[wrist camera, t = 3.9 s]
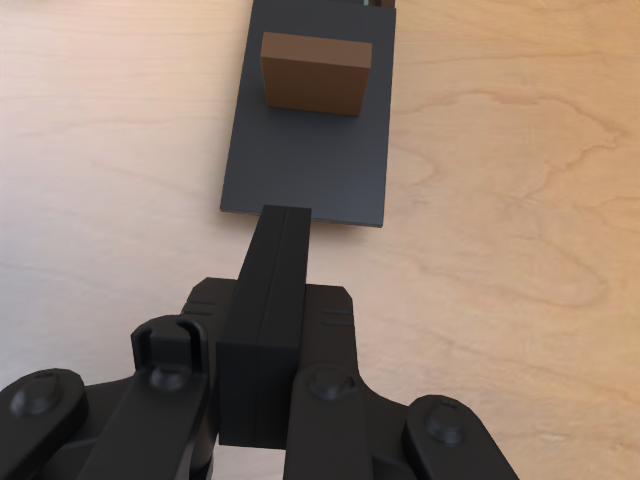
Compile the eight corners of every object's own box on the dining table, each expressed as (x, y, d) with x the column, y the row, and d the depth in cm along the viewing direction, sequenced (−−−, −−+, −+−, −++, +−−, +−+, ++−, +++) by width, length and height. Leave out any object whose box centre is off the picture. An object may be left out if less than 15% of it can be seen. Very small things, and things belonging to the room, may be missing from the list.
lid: (381, 228, 27) (401, 197, 22) (221, 211, 27) (200, 176, 22) (394, 14, 31) (414, -57, 26) (255, -1, 31) (245, -76, 26)
